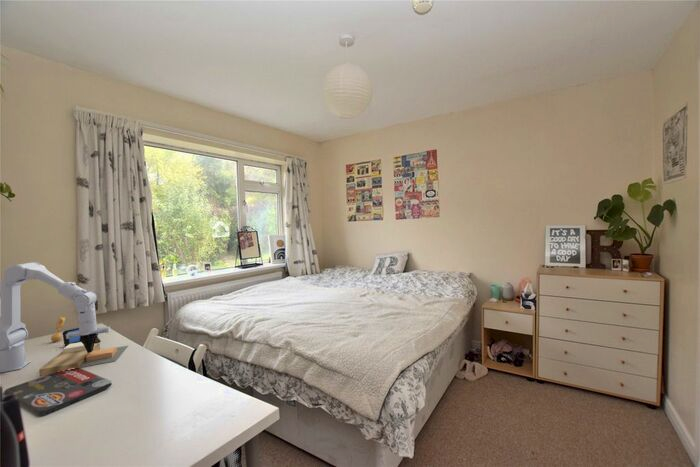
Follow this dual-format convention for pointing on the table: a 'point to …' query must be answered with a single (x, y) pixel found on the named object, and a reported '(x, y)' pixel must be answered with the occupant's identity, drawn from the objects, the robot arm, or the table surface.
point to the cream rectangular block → (74, 347)
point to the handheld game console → (74, 339)
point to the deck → (66, 361)
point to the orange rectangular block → (101, 354)
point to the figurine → (58, 336)
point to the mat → (105, 360)
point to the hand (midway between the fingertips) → (90, 351)
